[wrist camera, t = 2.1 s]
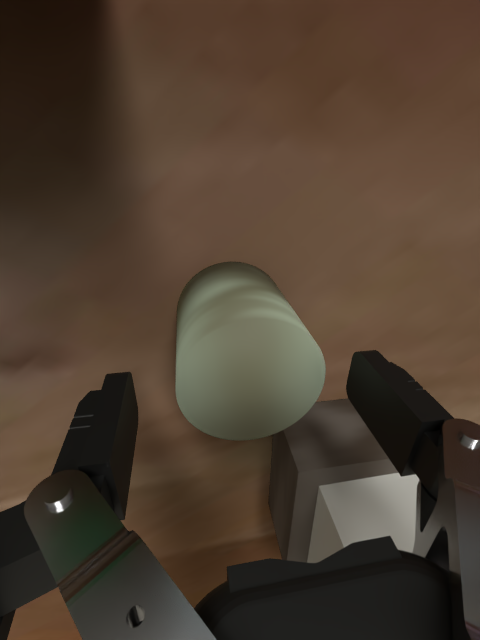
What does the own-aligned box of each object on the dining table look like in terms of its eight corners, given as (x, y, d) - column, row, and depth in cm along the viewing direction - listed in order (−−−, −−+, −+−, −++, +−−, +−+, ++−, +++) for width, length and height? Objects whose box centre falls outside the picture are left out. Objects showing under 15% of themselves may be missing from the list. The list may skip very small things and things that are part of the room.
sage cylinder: (285, 259, 16) (335, 313, 11) (277, 352, 19) (316, 431, 13) (172, 264, 15) (167, 324, 10) (181, 360, 18) (181, 448, 13)
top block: (453, 463, 18) (537, 561, 14) (418, 541, 22) (476, 637, 18) (318, 485, 17) (365, 599, 13) (306, 563, 21) (339, 671, 17)
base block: (414, 387, 22) (471, 446, 18) (384, 480, 27) (423, 545, 23) (273, 404, 21) (298, 472, 16) (267, 499, 26) (285, 571, 21)
